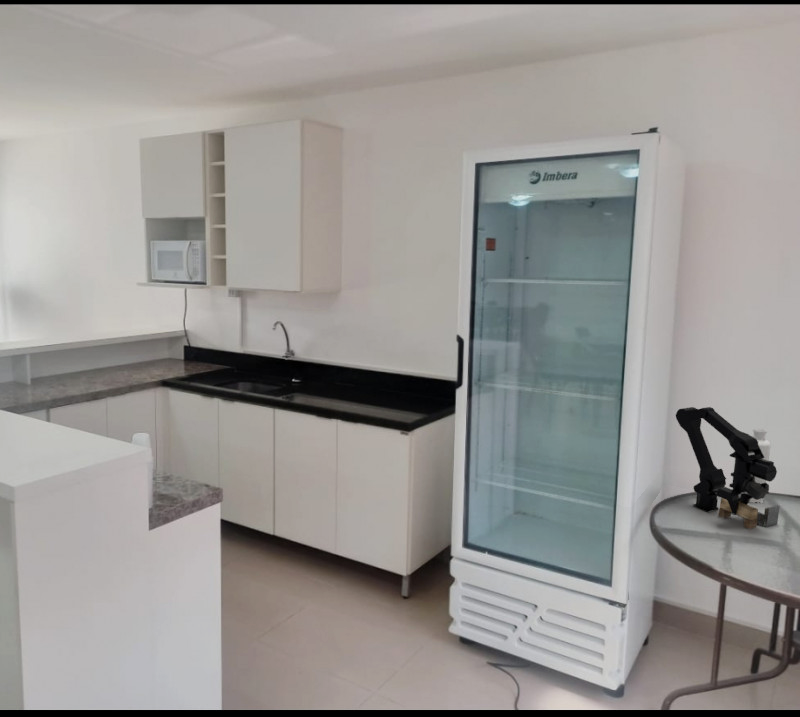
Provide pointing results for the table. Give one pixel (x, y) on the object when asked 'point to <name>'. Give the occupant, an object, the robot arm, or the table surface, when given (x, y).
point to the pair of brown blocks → (747, 522)
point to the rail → (741, 509)
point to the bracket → (768, 516)
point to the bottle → (765, 449)
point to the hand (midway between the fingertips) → (738, 513)
